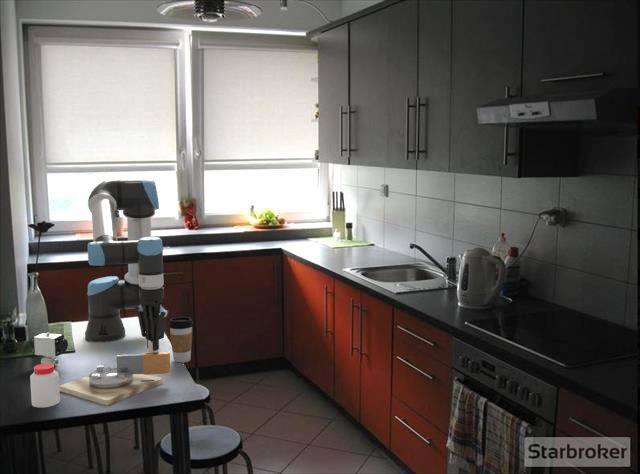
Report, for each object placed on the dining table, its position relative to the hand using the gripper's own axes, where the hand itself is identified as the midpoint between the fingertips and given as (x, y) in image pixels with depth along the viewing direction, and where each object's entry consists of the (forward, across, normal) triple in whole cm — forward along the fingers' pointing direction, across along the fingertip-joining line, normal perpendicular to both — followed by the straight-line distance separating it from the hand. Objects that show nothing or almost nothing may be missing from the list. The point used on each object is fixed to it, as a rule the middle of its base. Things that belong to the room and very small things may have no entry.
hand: (153, 359), depth 210 cm
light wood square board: (+8, -8, -10) cm, 15 cm away
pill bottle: (+8, -14, -29) cm, 33 cm away
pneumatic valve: (+8, -41, -8) cm, 43 cm away
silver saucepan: (+6, -4, -6) cm, 9 cm away
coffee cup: (+8, -8, +21) cm, 24 cm away
